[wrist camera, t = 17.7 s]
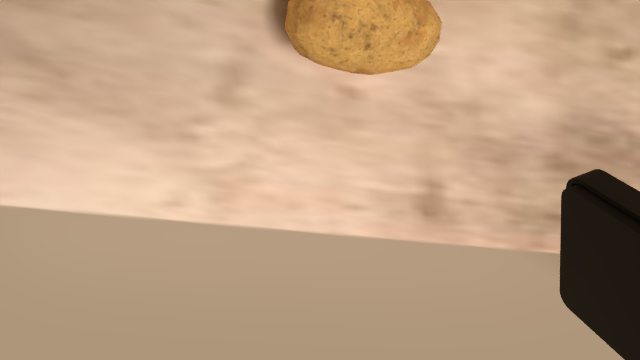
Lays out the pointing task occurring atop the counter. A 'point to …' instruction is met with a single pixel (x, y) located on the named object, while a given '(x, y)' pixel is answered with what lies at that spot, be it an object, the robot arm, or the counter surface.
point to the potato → (363, 33)
